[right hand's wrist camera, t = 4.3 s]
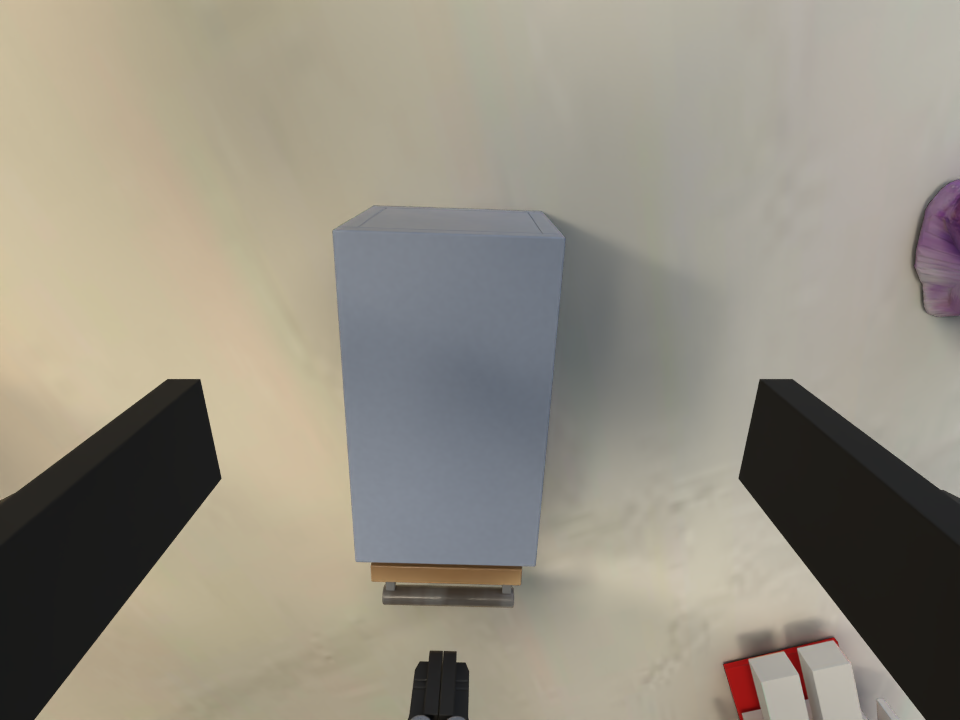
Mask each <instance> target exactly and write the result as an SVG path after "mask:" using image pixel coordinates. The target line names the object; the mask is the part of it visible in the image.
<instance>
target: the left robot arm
mask: <svg viewBox="0 0 960 720" xmlns="http://www.w3.org/2000/svg"><path fill="white" fill-rule="evenodd" d="M456 653H457V651H444V654H443V651H430V654H429V662H422V661H420V662H419V664H418V666H417V667H416V669H415V674H414V682H413V690H412V698H411V706H410V714H409V718H408V720H469V719H468V697H469V670H468V668H467V665H466V663H460V662H456Z"/></svg>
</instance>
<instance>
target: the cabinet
mask: <svg viewBox="0 0 960 720" xmlns="http://www.w3.org/2000/svg"><path fill="white" fill-rule="evenodd" d="M332 232H333V246H334V261H335V275H336V289H337V303H338V318H339V332H340V346H341V360H342V375H343V389H344V403H345V418H346V432H347V446H348V460H349V475H350V489H351V503H352V517H353V532H354V546H355V560H356V562H380V563H419V564H457V565H496V566H535V565H536V555H537V545H538V534H539V523H540V512H541V501H542V490H543V479H544V469H545V458H546V447H547V436H548V425H549V414H550V404H551V393H552V382H553V371H554V360H555V349H556V338H557V328H558V317H559V306H560V295H561V284H562V273H563V263H564V252H565V241H566V239H565V237H564V236H563V234H562V233H561V232H560V231H559V230H558V229H557V227H556V226H555V225H554V224H553V223H552V222H551V221H550V220H549V219H548V218H547V216H546V215H545V214H544V213H543V212H542V211H519V210H489V209H460V208H430V207H401V206H372V207H371V208H369V209H367V210H366V211H364V212H362V213H361V214H359V215H357V216H355V217H354V218H352V219H350V220H349V221H347V222H345V223H343V224H342V225H340V226H338V227H337V228H335V229H334V230H333V231H332Z"/></svg>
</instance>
